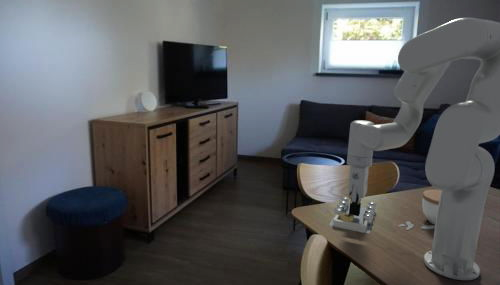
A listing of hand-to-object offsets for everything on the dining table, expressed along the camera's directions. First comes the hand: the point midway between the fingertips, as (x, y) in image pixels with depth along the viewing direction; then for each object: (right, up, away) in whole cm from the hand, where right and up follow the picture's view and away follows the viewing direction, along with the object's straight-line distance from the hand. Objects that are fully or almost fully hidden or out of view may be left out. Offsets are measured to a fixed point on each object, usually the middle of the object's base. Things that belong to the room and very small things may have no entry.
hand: (354, 214), depth 118 cm
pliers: (+19, -4, -2) cm, 19 cm away
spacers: (+1, -1, +3) cm, 3 cm away
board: (0, -2, +1) cm, 2 cm away
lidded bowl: (+28, -3, +1) cm, 29 cm away
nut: (-4, -2, -5) cm, 7 cm away
